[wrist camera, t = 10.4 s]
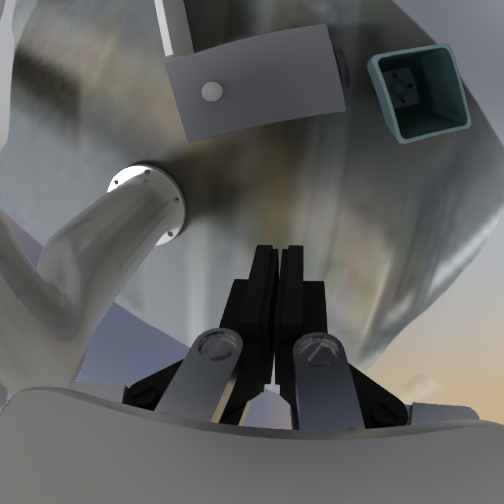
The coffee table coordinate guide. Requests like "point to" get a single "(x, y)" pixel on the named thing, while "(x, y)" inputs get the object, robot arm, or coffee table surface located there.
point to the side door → (174, 28)
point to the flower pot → (420, 92)
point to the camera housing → (259, 81)
